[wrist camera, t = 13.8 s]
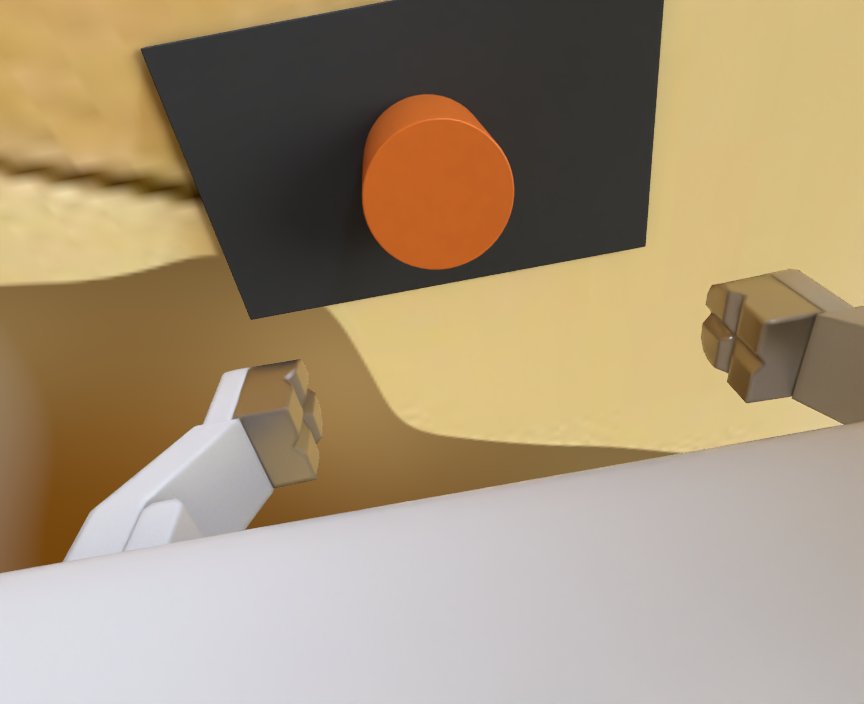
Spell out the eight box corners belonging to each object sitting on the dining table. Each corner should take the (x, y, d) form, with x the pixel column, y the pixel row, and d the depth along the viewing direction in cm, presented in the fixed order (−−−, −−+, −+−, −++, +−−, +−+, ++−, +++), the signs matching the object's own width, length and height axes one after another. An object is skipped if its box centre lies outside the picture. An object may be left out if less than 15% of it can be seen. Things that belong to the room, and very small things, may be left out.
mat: (663, -52, 20) (668, -53, 20) (642, 243, 27) (645, 246, 27) (143, 47, 20) (139, 48, 20) (251, 316, 27) (250, 320, 27)
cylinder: (482, 82, 22) (509, 103, 18) (494, 212, 25) (519, 256, 21) (349, 107, 22) (344, 134, 18) (377, 233, 25) (379, 282, 21)
